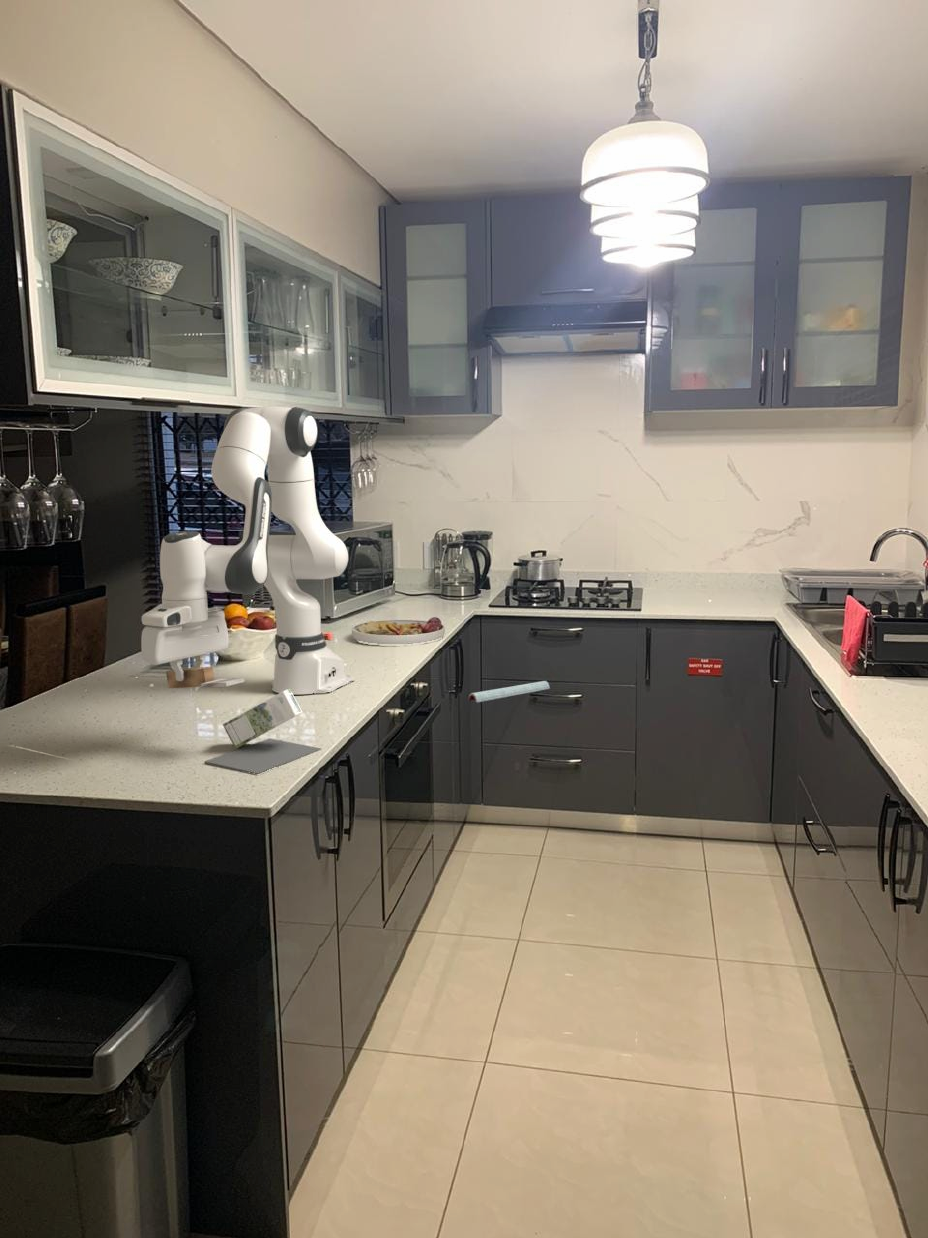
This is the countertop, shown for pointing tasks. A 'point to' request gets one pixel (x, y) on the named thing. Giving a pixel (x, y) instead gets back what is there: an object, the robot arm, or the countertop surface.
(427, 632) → the plate of food
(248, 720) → the syrup box
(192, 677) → the tan wooden bar
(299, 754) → the mat
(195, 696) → the countertop surface
